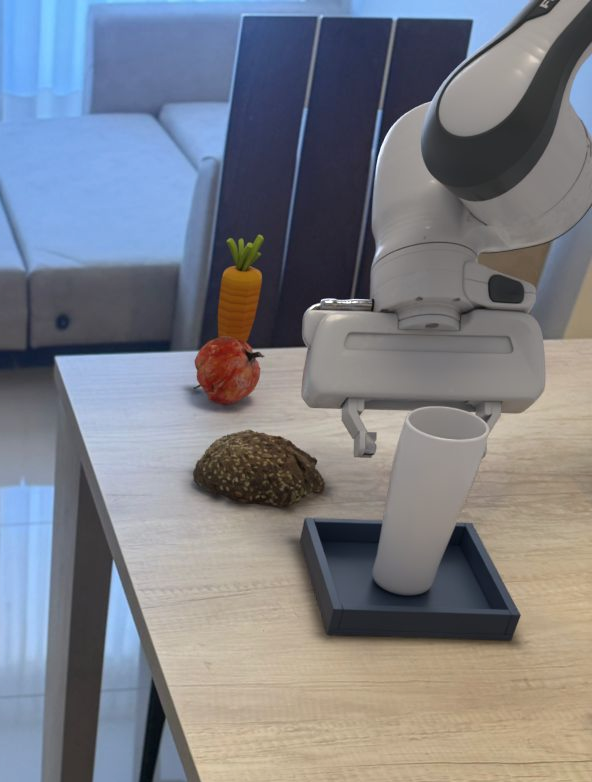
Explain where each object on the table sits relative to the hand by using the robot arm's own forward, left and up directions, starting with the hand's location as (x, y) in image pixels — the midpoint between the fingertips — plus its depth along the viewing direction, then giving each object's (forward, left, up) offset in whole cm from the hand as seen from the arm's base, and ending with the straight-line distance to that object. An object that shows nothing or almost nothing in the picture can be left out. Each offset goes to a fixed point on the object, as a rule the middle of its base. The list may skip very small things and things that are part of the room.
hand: (419, 457), depth 100 cm
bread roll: (+10, -16, -11) cm, 21 cm away
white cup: (0, +4, -10) cm, 11 cm away
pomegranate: (+12, -36, -11) cm, 39 cm away
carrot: (+10, -46, -11) cm, 48 cm away
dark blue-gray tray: (0, +4, -10) cm, 11 cm away
